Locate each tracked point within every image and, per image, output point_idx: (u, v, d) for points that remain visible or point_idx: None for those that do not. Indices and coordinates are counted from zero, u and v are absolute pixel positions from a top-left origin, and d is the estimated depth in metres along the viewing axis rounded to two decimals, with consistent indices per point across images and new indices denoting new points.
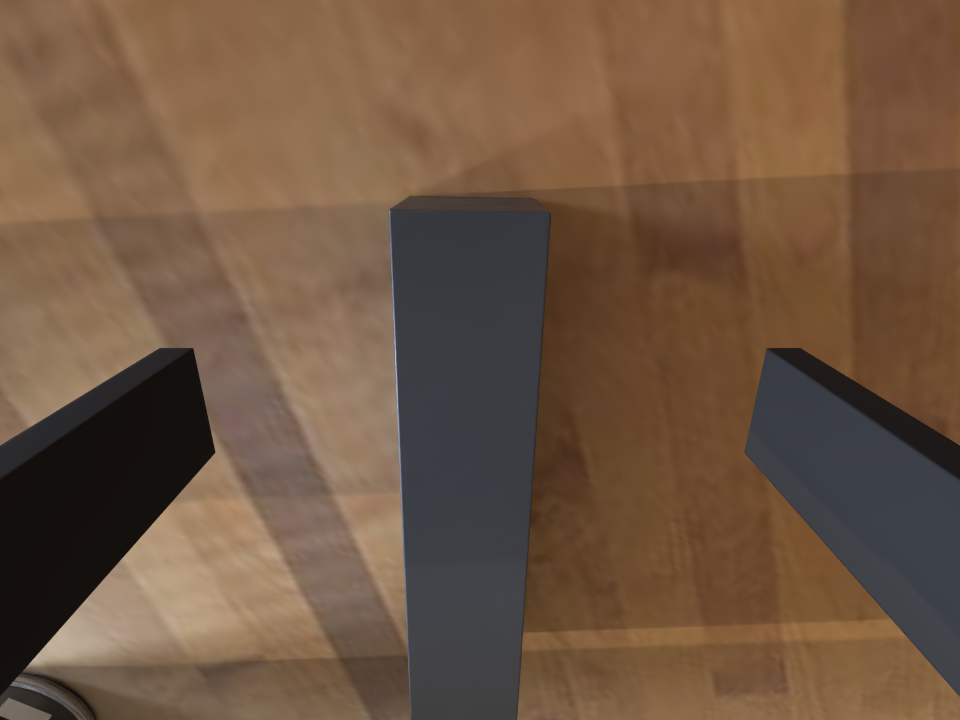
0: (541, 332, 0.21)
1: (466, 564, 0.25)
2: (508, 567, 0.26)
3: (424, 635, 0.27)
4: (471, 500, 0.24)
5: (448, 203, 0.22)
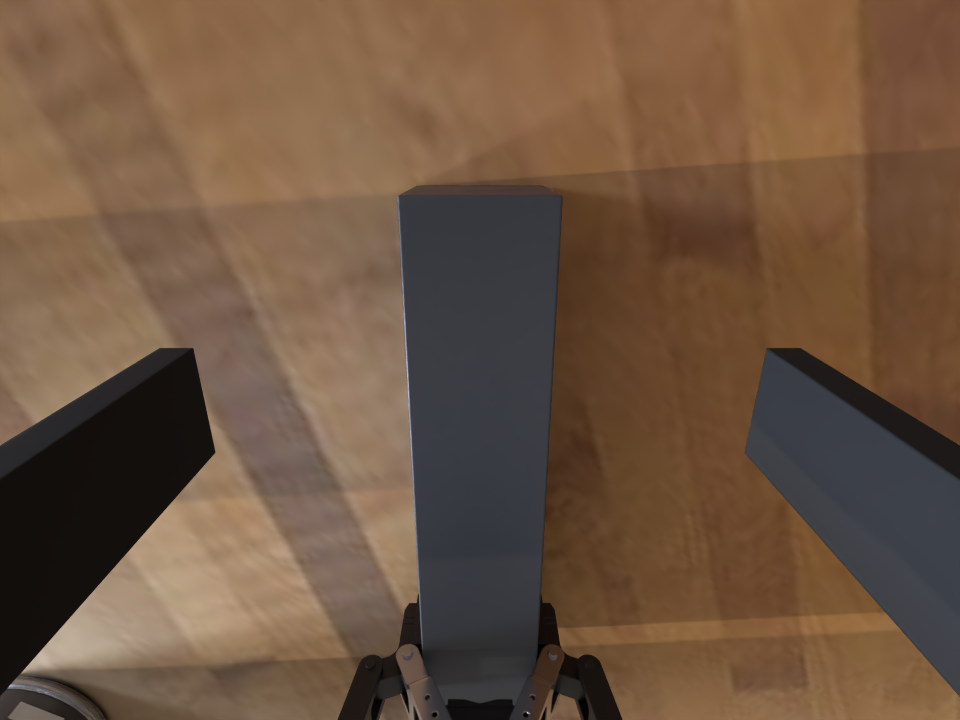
0: (554, 319, 0.21)
1: (481, 558, 0.25)
2: (523, 561, 0.25)
3: (439, 632, 0.27)
4: (485, 492, 0.24)
5: (457, 190, 0.21)
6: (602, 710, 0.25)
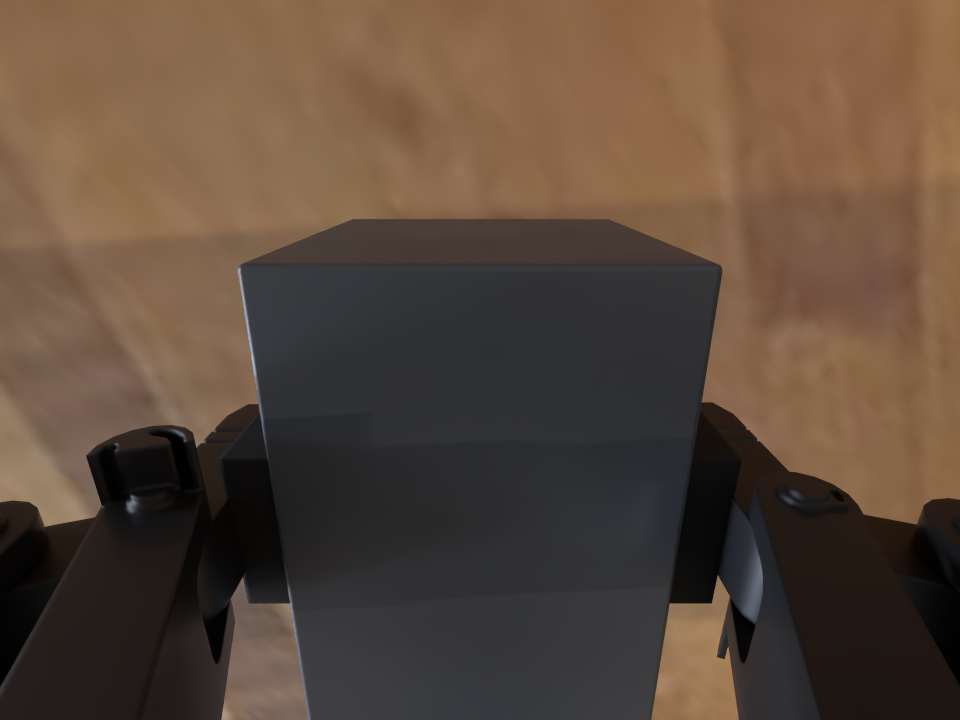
0: (672, 572, 0.08)
1: None
2: None
3: None
4: None
5: (425, 237, 0.09)
6: None
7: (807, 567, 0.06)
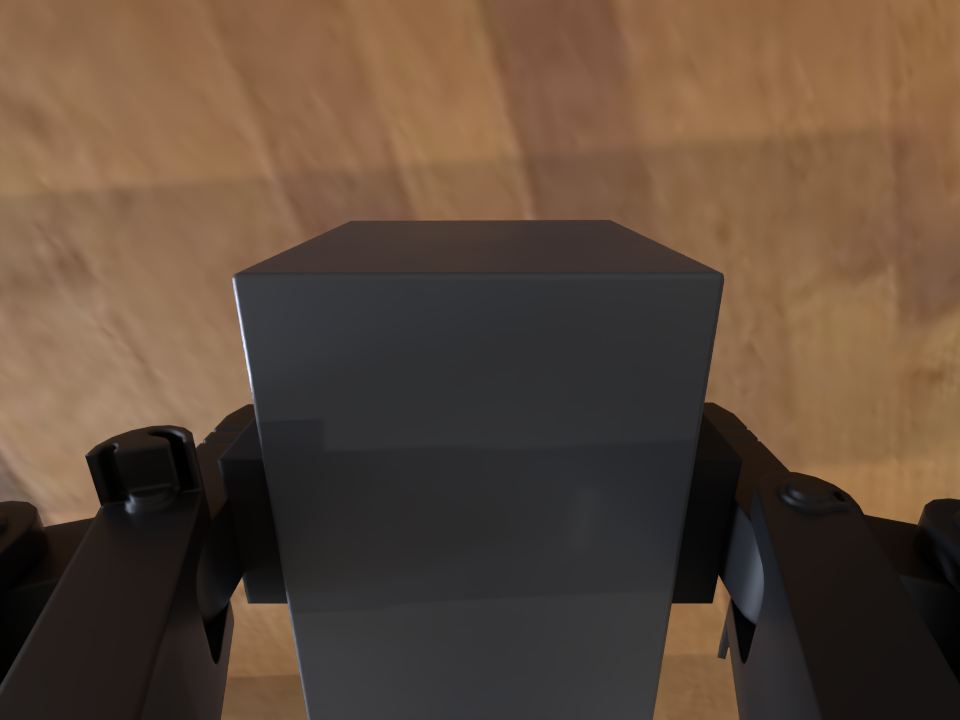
0: (673, 580, 0.08)
1: None
2: None
3: None
4: None
5: (423, 241, 0.09)
6: None
7: (808, 567, 0.06)
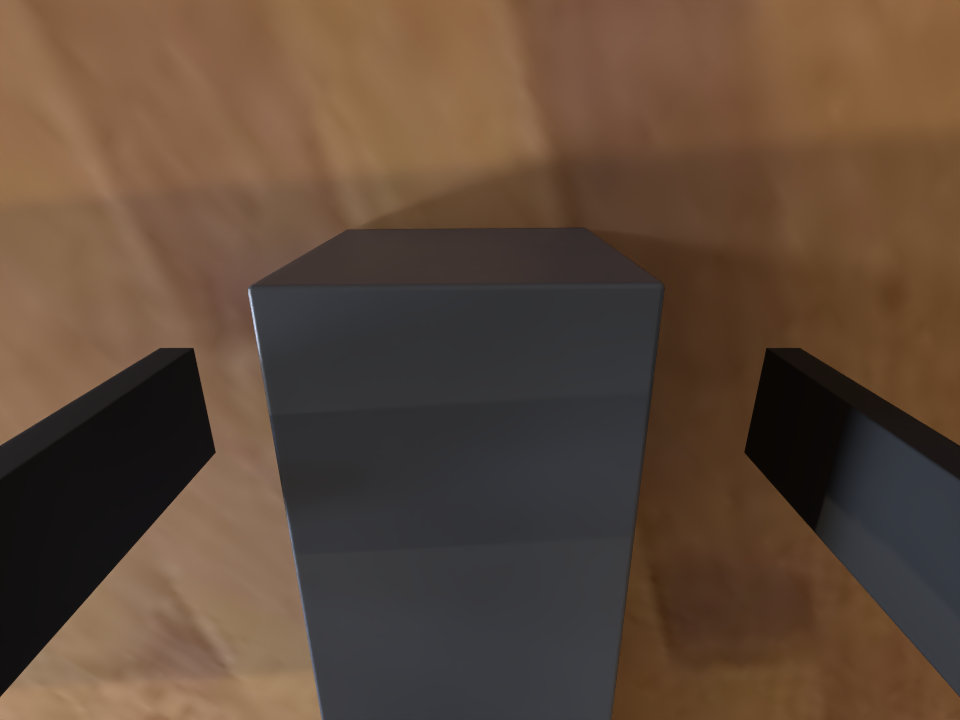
0: (630, 547, 0.09)
1: None
2: None
3: None
4: None
5: (412, 252, 0.10)
6: None
7: None
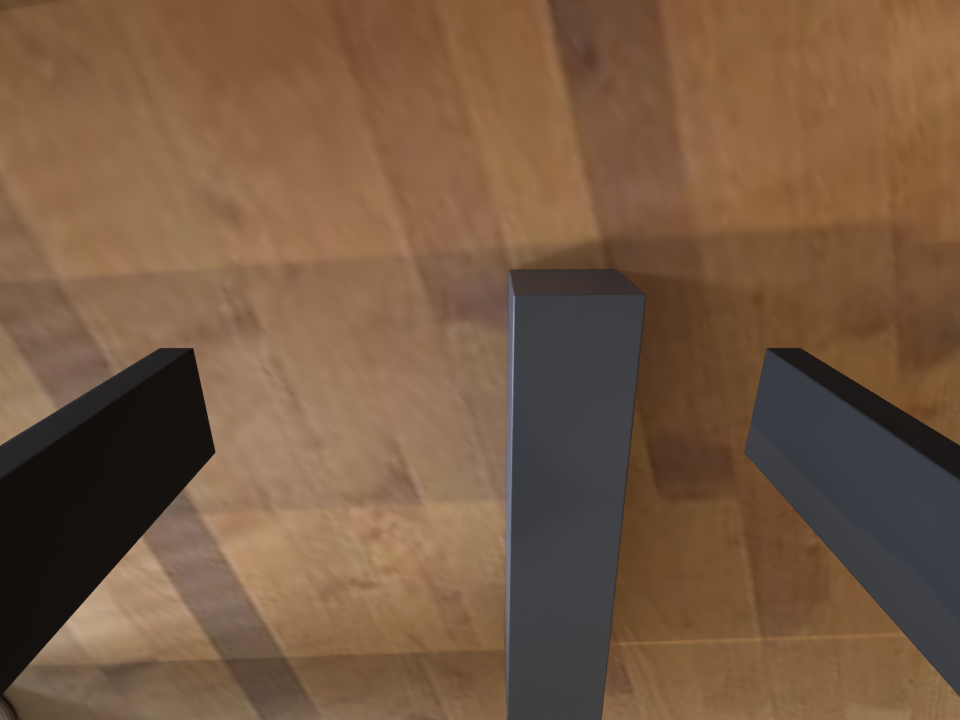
0: (635, 389, 0.25)
1: (563, 583, 0.30)
2: (599, 586, 0.30)
3: (524, 645, 0.31)
4: (570, 528, 0.28)
5: (552, 282, 0.26)
6: None
7: None
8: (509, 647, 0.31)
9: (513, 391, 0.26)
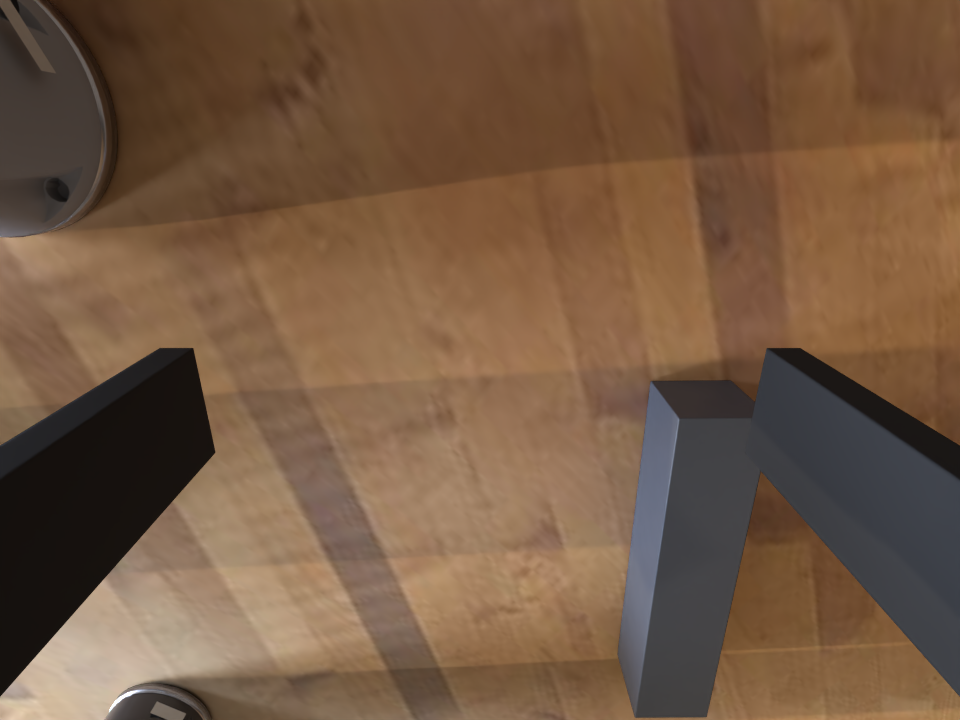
0: (758, 480, 0.35)
1: (690, 613, 0.40)
2: (717, 615, 0.40)
3: (655, 659, 0.41)
4: (700, 575, 0.38)
5: (695, 400, 0.36)
6: None
7: None
8: (644, 661, 0.41)
9: (670, 481, 0.35)
